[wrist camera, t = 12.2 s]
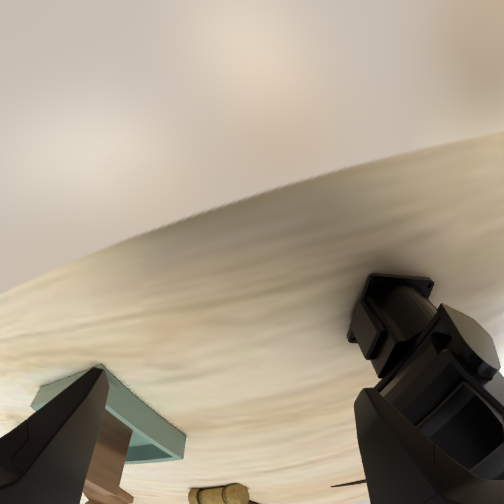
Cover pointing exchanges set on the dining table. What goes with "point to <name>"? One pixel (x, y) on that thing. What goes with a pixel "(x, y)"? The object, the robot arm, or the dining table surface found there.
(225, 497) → the gavel
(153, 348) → the dining table surface
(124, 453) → the walnut block
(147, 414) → the box
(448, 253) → the dining table surface
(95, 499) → the candle holder
